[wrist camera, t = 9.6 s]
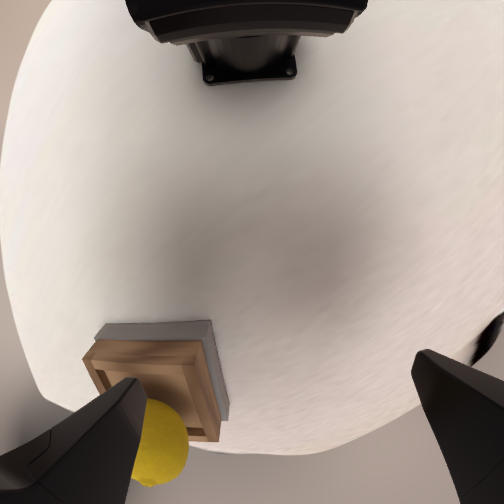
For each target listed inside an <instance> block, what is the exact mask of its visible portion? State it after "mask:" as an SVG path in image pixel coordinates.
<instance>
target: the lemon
mask: <svg viewBox="0 0 504 504" xmlns="http://www.w3.org/2000/svg"><path fill="white" fill-rule="evenodd" d="M188 449H189V442H188V433H187V429H186V426H185V424H184V422H183V420H182V418H181V417H180V415H179V414H178V413H177V412H176V411H175V410H174V409H173V408H172V407H170V406H169V405H167V404H166V403H163V402H161V401H158V400H155V399H147V404H146V410H145V416H144V422H143V429H142V435H141V440H140V444H139V448H138V452H137V456H136V459H135V463H134V467H133V471H132V475H131V478H133V479H135V480H137V481H139V482H140V483H141V484H142V485H143V486H146V487H152V486H154V485H157V484H163V483H166V482H169V481H171V480H173V479H174V478H176V477H177V476H178V475H179V474H180V473H181V471H182V469H183V468H184V466H185V463H186V460H187V456H188Z"/></svg>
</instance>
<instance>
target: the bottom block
mask: <svg viewBox="0 0 504 504" xmlns="http://www.w3.org/2000/svg"><path fill="white" fill-rule="evenodd" d="M94 338H95V341H97V340H98V339H112V340H150V341H168V340H202V345H203V349H204V353H205V357H206V362H207V366H208V370H209V374H210V378H211V381H212V385H213V389H214V393H215V396H216V400H217V404H218V407H219V411H220V414H221V421H228V415H229V404H230V403H229V399H228V395H227V391H226V387H225V383H224V379H223V375H222V371H221V366H220V362H219V358H218V353H217V349H216V344H215V339H214V335H213V330H212V325H211V320H204V321H187V322H165V323H125V324H105V325H104V326H103V327H102V329H101V330H100V331H99V332H98V333H97V334H96V336H95V337H94Z"/></svg>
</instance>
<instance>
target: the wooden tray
mask: <svg viewBox="0 0 504 504" xmlns="http://www.w3.org/2000/svg"><path fill="white" fill-rule="evenodd" d="M82 360H83V362H84V364H85V366H86V368H87V370H88V372H89V374H90V376H91V378H92V380H93V382H94V384H95V386H96V388H97V390H98V392H99V393H100V395H101V394H102V393H104V392H105V391H107V390H108V389H110V388H111V387H112V386H114V385H115V384H117V383H118V382H120V381H121V380H122V379H124V378H125V377H136V378H138V379H139V380H140V382H141V384H142V386H143V389H144V391H145V393H146V396H147V399H155V400H158V401H161V402H163V403H166V404H167V405H169V406H170V407H172V408H173V409H174V410H175V411H176V412H177V413H178V414H179V415H180V417H181V418H182V420H183V422H184V424H185V426H186V429H187V433H188V441H198V442H219V436H220V426H221V414H220V411H219V407H218V404H217V400H216V396H215V393H214V389H213V385H212V381H211V378H210V374H209V370H208V366H207V362H206V357H205V353H204V349H203V345H202V340H168V341H150V340H112V339H98V340H97V341H96V342H95V343H94V344H93V346H92V347H91V348H90V349H89V351H88V352H87V353H86V354H85V356H84V357H83V358H82Z"/></svg>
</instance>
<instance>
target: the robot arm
mask: <svg viewBox="0 0 504 504" xmlns="http://www.w3.org/2000/svg"><path fill="white" fill-rule="evenodd" d="M125 1H126V5H127V8H128V11H129V13H130V15H131V17H132V19H133V21H134V22H135V23H136V25H137V26H138V27H139V28H141V29H143V30H145V31H147V32H150V34H151V35H152V36H153V37H154V39H155V40H156V41H158V42H160V43H166V42H170V43H171V44H174V45H176V46H178V45H183V44H186V45H187V47H188V49H189V51H190V53H191V55H192V57H193V59H194V60H195V61H196V62H202V71H203V81H204V83H205V84H206V85H208V86H213V85H220V84H229V83H238V82H249V81H263V80H290V79H293V78H295V76H296V75H297V68H296V62H295V56H294V52H295V49H296V47H297V44H298V41H299V39H300V36H318V37H328V36H331V35H333V34H334V33H344V32H345V31H346V30H348V28H349V27H350V25H351V24H352V23H353V21H354V18H356V17H358V16H359V15H360V14H361V13H362V12H363V11H364V10H365V9H366V7H367V3H368V0H125ZM286 71H291V72H292V73H293V74H291V75H289V74H287V72H286ZM209 77H214V79H213V80H212V81H208V80H207V79H208V78H209ZM411 375H412V379H413V381H414V384H415V387H416V390H417V392H418V395H419V398H420V401H421V404H422V407H423V410H424V412H425V414H426V417H427V419H428V421H429V423H430V426H431V428H432V430H433V432H434V435H435V437H436V439H437V442H438V444H439V446H440V449H441V451H442V454H443V456H444V459H445V461H446V463H447V466H448V469H449V471H450V474H451V477H452V480H453V483H454V485H455V488H456V491H457V494H458V497H459V501H460V504H504V381H503V380H500V379H498V378H495V377H493V376H491V375H488V374H486V373H484V372H481V371H479V370H476V369H474V368H472V367H469V366H467V365H465V364H462V363H460V362H458V361H455V360H453V359H451V358H448V357H446V356H444V355H441V354H439V353H437V352H435V351H432V350H430V349H425V350H421V351H419V352H417V354H416V356H415V360H414V363H413V366H412V370H411ZM146 404H147V396H146V393H145V391H144V389H143V386H142V384H141V382H140V380H139V379H138V378H136V377H125V378H124V379H122V380H121V381H120V382H118V383H117V384H115V385H114V386H112V387H111V388H110V389H108V390H107V391H105V392H104V393H102V394H101V395H99V396H98V397H97V398H95V399H94V400H92V401H91V402H89V403H88V404H86V405H85V406H83V407H82V408H80V409H79V410H78V411H76V412H75V413H73V414H72V415H70V416H69V417H67V418H66V419H64V420H63V421H61V422H60V423H58V424H57V425H55V426H54V427H52V428H51V429H49V430H47V431H46V432H44V433H43V434H41V435H40V436H38V437H36V438H35V439H33V440H31V441H29V442H27V443H25V444H24V445H22V446H20V447H18V448H16V449H13V450H11V451H9V452H7V453H5V454H3V455H1V456H0V504H125V500H126V496H127V492H128V487H129V483H130V479H131V475H132V471H133V467H134V463H135V459H136V456H137V452H138V448H139V444H140V440H141V435H142V429H143V422H144V416H145V410H146Z"/></svg>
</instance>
